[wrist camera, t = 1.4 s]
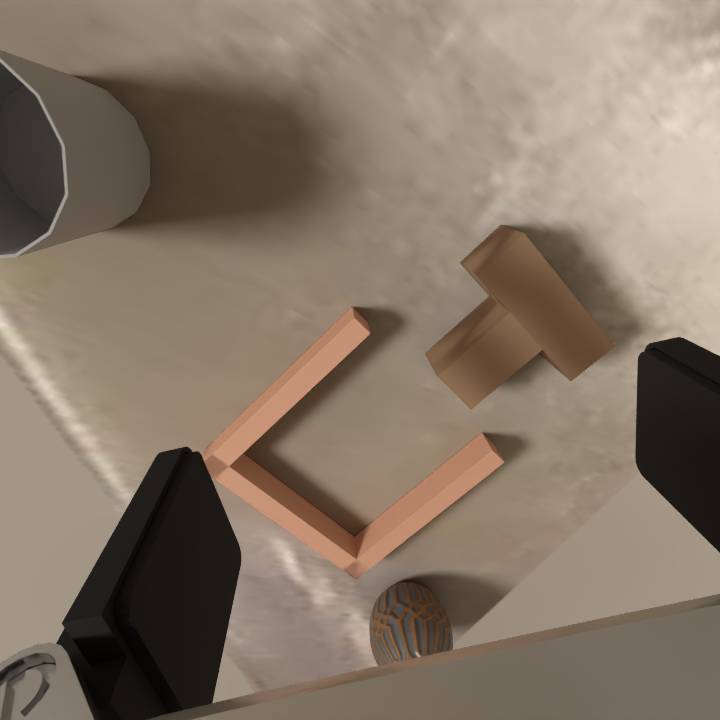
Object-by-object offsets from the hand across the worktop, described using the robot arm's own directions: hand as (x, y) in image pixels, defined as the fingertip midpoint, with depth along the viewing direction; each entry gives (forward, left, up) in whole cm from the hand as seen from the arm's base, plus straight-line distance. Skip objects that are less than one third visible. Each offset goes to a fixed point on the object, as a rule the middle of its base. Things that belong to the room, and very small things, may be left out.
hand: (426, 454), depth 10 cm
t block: (-3, +10, -23) cm, 25 cm away
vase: (+19, +25, -23) cm, 39 cm away
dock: (+10, +10, -23) cm, 27 cm away
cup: (+8, -16, -23) cm, 29 cm away
